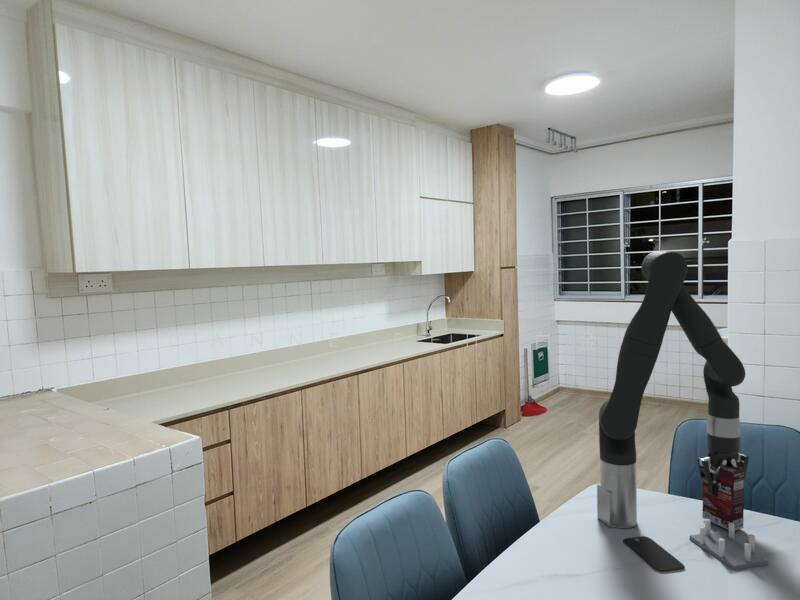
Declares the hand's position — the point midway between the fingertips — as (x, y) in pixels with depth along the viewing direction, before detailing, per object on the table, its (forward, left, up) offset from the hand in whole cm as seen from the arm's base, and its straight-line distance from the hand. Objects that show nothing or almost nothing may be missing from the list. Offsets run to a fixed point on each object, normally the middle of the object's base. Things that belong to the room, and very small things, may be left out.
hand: (722, 494), depth 138 cm
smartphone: (-27, -8, -9) cm, 29 cm away
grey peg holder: (-9, -11, -9) cm, 17 cm away
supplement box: (0, 0, -8) cm, 8 cm away
